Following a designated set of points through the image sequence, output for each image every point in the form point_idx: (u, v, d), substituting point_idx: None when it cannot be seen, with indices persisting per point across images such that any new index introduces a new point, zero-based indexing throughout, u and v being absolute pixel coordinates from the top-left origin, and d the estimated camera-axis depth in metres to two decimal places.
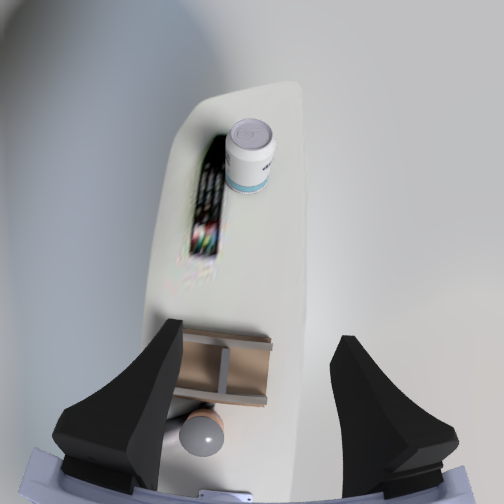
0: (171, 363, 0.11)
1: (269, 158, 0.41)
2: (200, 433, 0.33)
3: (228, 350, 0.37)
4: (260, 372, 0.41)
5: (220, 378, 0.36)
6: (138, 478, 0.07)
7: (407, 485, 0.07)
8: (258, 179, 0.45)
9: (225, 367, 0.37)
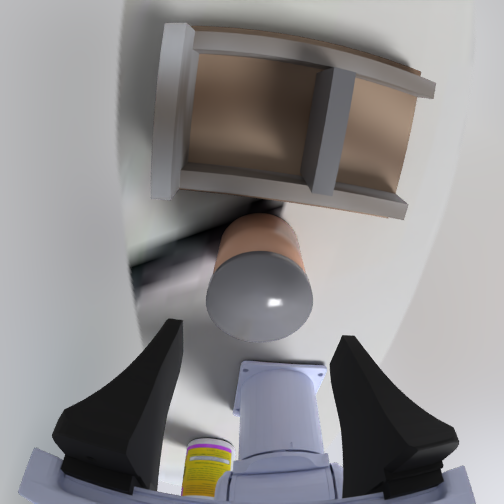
0: (171, 363, 0.11)
1: None
2: (258, 296, 0.16)
3: (350, 75, 0.11)
4: (393, 140, 0.17)
5: (323, 151, 0.13)
6: (138, 478, 0.07)
7: (407, 485, 0.07)
8: None
9: (338, 121, 0.12)
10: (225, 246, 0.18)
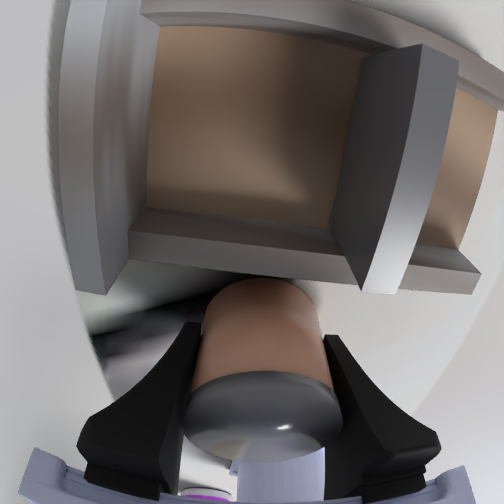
0: (191, 366, 0.11)
1: None
2: (261, 428, 0.09)
3: (450, 64, 0.05)
4: (466, 174, 0.10)
5: (392, 216, 0.06)
6: (164, 483, 0.07)
7: (386, 490, 0.07)
8: None
9: (425, 157, 0.06)
10: (209, 341, 0.11)
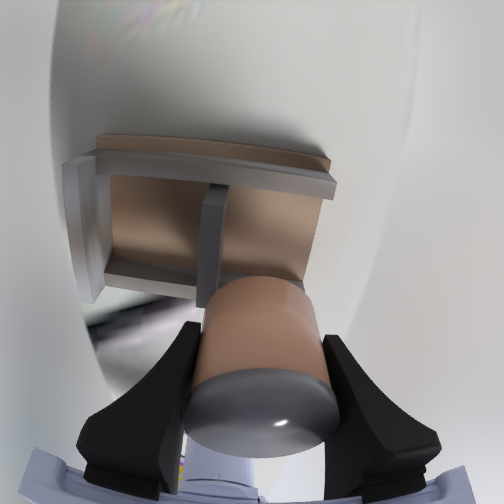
0: (191, 366, 0.11)
1: None
2: (261, 424, 0.09)
3: (218, 209, 0.14)
4: (298, 235, 0.19)
5: (199, 276, 0.16)
6: (164, 483, 0.07)
7: (387, 490, 0.07)
8: None
9: (210, 252, 0.15)
10: (212, 336, 0.11)
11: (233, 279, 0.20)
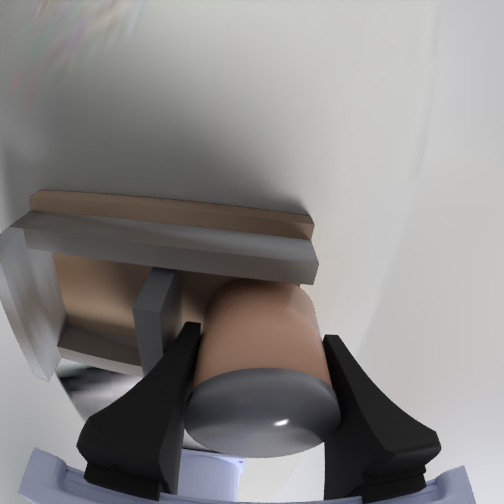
0: (191, 366, 0.11)
1: None
2: (262, 423, 0.09)
3: (153, 315, 0.10)
4: None
5: None
6: (164, 483, 0.07)
7: (386, 490, 0.07)
8: None
9: (153, 357, 0.11)
10: (213, 336, 0.11)
11: None
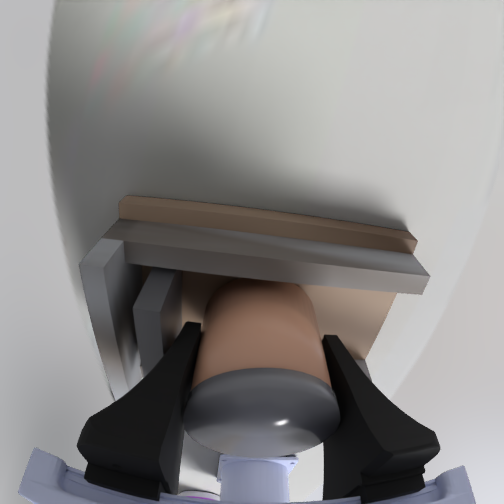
0: (192, 366, 0.11)
1: None
2: (261, 423, 0.09)
3: (153, 315, 0.10)
4: (369, 319, 0.16)
5: None
6: (164, 483, 0.07)
7: (385, 490, 0.07)
8: None
9: (153, 357, 0.11)
10: (212, 336, 0.11)
11: None
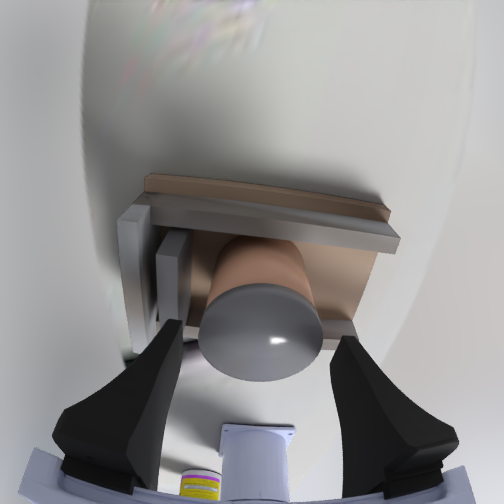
0: (171, 363, 0.11)
1: None
2: (260, 335, 0.13)
3: (172, 260, 0.13)
4: (353, 280, 0.19)
5: (161, 320, 0.15)
6: (138, 478, 0.07)
7: (407, 485, 0.07)
8: None
9: (169, 299, 0.14)
10: (223, 271, 0.15)
11: None
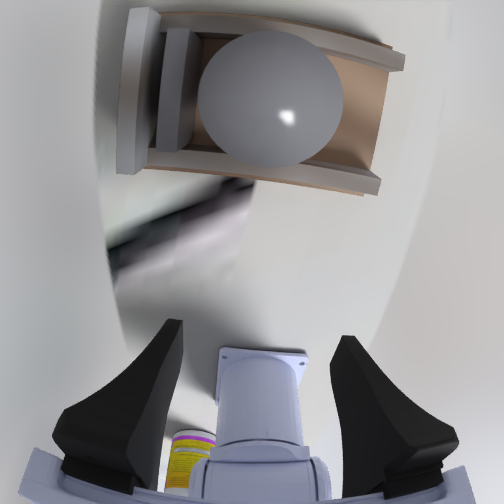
0: (171, 363, 0.11)
1: None
2: (271, 84, 0.10)
3: (184, 32, 0.11)
4: (365, 116, 0.16)
5: (161, 108, 0.12)
6: (138, 478, 0.07)
7: (407, 485, 0.07)
8: None
9: (173, 78, 0.12)
10: None
11: None
